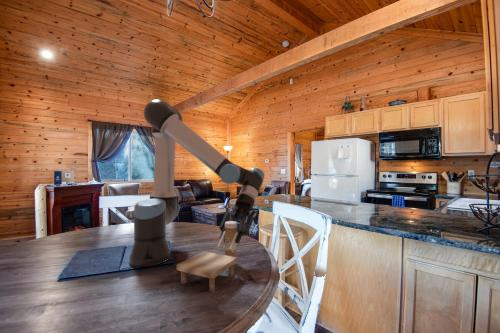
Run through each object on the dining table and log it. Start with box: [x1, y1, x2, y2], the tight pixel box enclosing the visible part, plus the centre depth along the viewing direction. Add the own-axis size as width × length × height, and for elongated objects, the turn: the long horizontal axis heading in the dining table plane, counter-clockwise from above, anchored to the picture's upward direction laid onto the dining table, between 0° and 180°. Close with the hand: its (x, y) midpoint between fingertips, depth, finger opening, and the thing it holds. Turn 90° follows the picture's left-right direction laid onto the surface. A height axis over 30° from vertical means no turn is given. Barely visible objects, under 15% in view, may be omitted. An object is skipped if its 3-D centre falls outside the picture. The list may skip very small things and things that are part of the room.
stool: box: [176, 250, 238, 293], centre depth 82 cm, size 14×14×6 cm
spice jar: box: [224, 221, 238, 257], centre depth 94 cm, size 5×5×14 cm
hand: (225, 249), depth 91 cm, fingers closed on spice jar, 4 cm apart
